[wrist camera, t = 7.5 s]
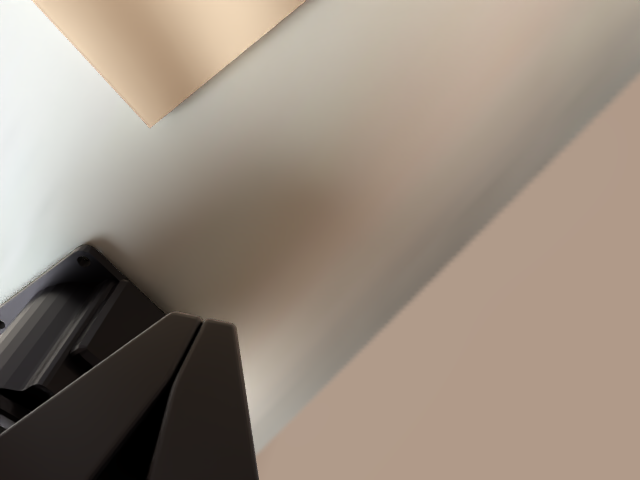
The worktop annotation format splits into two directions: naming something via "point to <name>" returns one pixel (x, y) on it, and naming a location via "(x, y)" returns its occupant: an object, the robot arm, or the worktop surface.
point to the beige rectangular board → (162, 42)
